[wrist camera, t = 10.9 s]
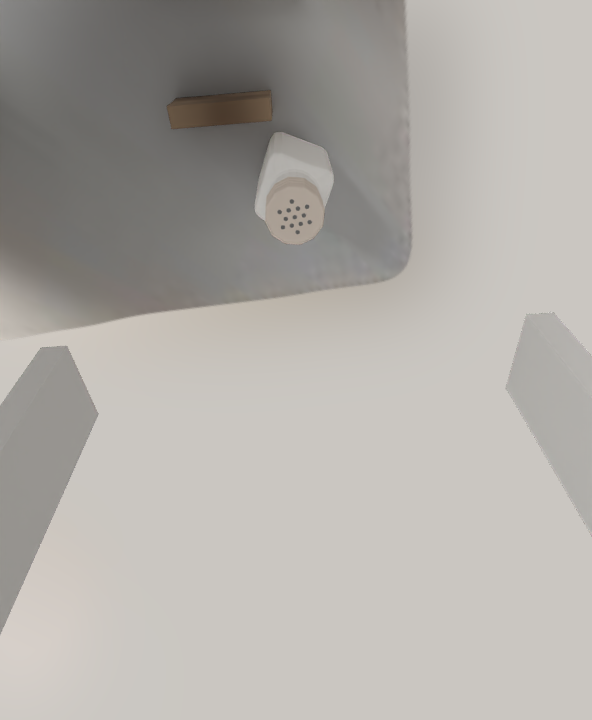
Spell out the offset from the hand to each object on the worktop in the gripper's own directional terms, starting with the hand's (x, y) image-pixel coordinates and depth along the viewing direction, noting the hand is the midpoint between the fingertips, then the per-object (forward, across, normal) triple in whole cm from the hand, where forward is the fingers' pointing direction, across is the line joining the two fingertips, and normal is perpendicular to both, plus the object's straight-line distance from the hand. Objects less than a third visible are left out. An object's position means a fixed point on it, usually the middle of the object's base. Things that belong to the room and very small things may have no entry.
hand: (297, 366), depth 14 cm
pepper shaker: (+23, 0, 0) cm, 23 cm away
